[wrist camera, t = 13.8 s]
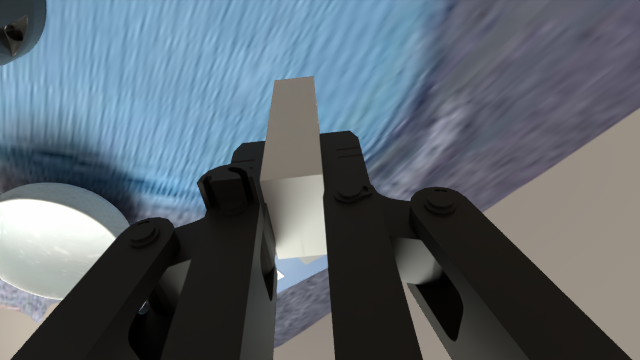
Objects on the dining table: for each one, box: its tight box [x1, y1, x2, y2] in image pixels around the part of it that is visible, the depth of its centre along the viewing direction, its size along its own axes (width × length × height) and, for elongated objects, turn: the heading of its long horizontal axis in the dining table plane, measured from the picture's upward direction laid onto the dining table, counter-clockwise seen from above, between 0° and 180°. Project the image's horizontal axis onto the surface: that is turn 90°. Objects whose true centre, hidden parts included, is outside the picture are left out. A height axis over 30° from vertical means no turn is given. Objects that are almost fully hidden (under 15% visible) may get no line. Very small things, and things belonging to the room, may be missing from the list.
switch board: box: [275, 251, 328, 293], centre depth 52 cm, size 16×16×2 cm
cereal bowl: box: [0, 182, 130, 300], centre depth 46 cm, size 17×17×7 cm
